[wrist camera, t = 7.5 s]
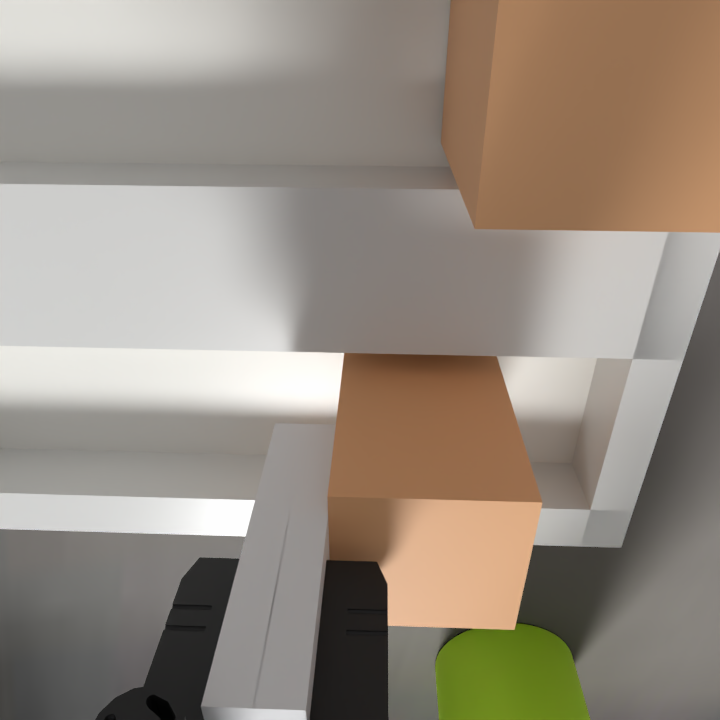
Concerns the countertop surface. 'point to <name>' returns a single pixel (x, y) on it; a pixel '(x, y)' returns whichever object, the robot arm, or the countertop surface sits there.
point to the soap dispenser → (508, 677)
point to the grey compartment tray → (285, 265)
